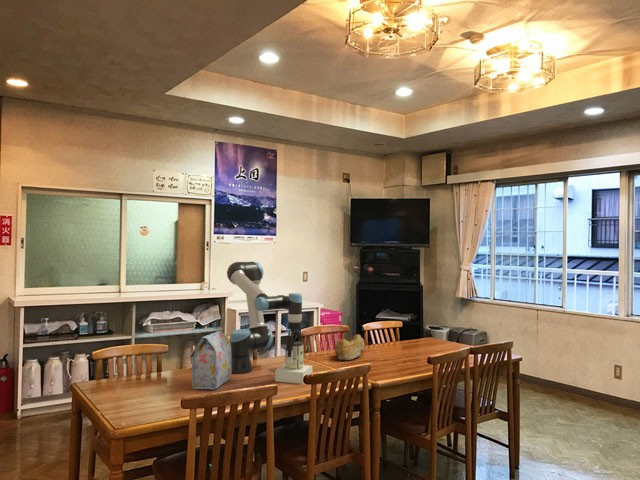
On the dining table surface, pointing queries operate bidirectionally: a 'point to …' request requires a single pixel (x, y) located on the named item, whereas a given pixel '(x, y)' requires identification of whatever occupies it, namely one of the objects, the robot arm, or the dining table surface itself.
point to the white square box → (292, 374)
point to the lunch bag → (211, 361)
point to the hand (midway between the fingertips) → (294, 360)
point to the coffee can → (295, 356)
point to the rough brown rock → (349, 348)
